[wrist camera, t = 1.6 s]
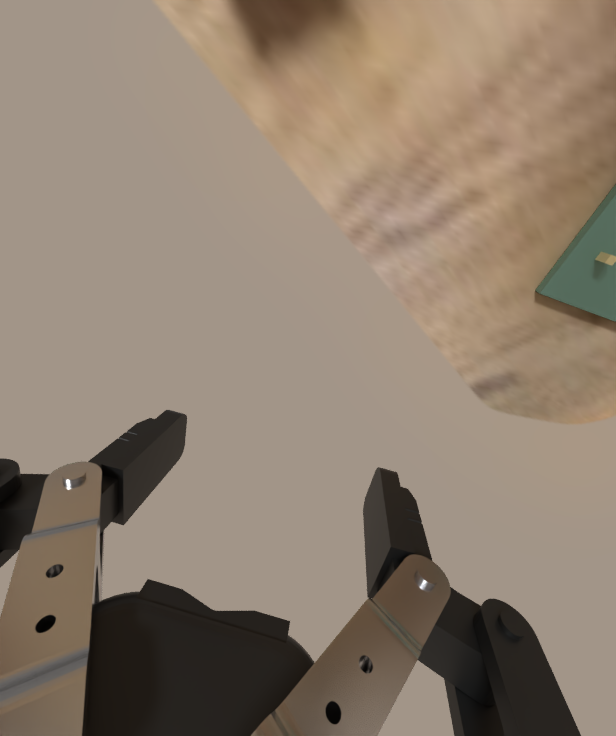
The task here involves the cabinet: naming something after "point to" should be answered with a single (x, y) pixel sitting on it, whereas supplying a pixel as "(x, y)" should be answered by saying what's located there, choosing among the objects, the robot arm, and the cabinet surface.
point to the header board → (588, 265)
